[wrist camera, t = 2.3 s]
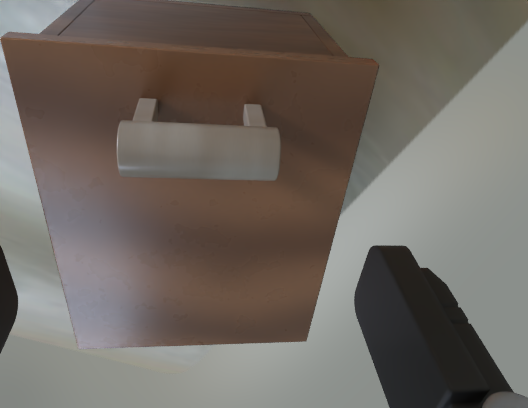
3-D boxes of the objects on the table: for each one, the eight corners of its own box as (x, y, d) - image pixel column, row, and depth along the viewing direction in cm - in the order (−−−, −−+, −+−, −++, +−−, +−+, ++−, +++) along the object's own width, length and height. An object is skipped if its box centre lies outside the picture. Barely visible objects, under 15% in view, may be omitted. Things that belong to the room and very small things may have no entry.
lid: (7, 31, 15) (-67, 83, 11) (373, 58, 17) (427, 110, 13) (81, 337, 25) (57, 424, 21) (304, 331, 27) (321, 408, 23)
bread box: (86, -8, 25) (13, 53, 15) (310, 12, 27) (367, 77, 17) (115, 215, 34) (81, 337, 25) (278, 217, 36) (304, 330, 27)
